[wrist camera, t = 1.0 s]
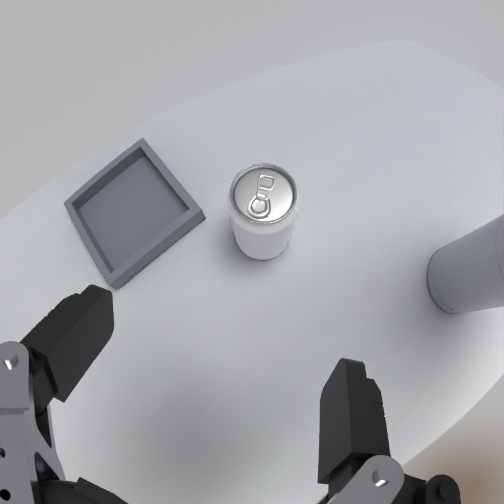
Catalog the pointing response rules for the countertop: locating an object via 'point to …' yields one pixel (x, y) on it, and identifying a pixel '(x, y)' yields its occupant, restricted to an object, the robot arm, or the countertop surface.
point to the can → (263, 210)
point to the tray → (131, 213)
